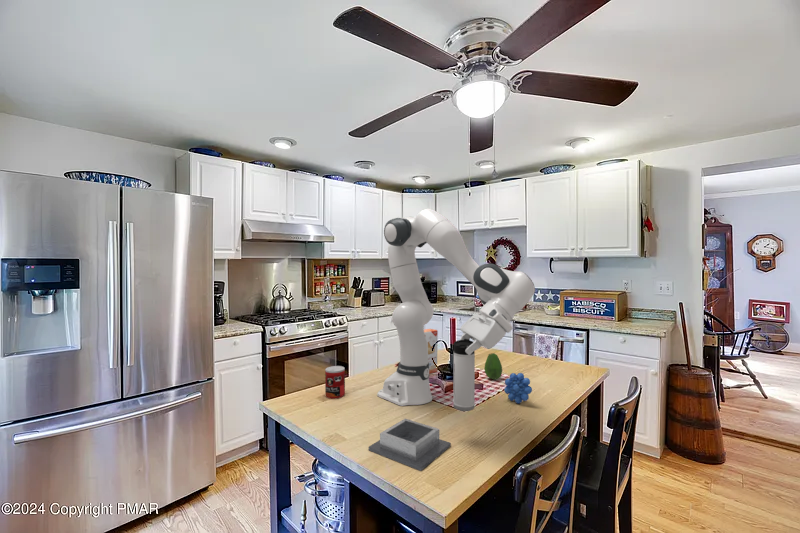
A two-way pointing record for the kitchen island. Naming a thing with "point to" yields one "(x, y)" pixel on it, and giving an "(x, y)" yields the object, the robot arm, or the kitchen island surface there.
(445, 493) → the kitchen island surface
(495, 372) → the avocado
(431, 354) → the cracker box
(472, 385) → the travel mug
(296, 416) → the kitchen island surface
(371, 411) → the kitchen island surface
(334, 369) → the canned food
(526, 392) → the grapes
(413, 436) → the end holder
